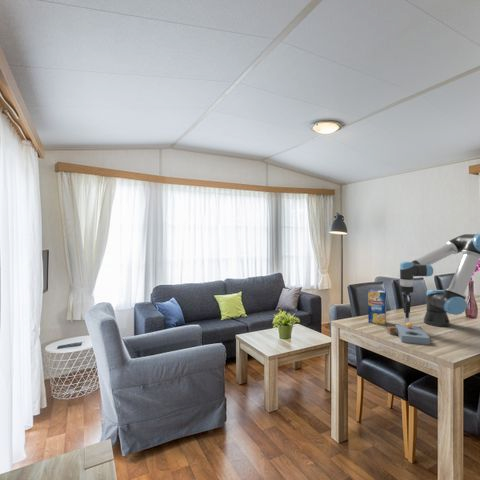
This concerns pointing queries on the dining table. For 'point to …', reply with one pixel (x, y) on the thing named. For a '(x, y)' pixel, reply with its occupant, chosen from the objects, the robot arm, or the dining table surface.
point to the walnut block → (392, 330)
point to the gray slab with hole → (412, 334)
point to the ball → (409, 325)
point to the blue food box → (377, 306)
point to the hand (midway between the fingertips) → (406, 322)
